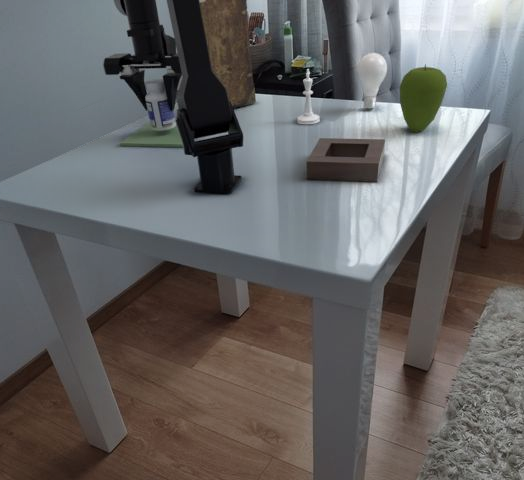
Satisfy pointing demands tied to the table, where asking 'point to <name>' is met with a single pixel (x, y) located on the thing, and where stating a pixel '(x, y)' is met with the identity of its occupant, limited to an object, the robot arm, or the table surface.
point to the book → (230, 47)
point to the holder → (346, 159)
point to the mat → (154, 138)
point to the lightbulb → (371, 77)
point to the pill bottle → (159, 106)
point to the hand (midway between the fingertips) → (160, 110)
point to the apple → (422, 96)
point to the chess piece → (308, 104)
